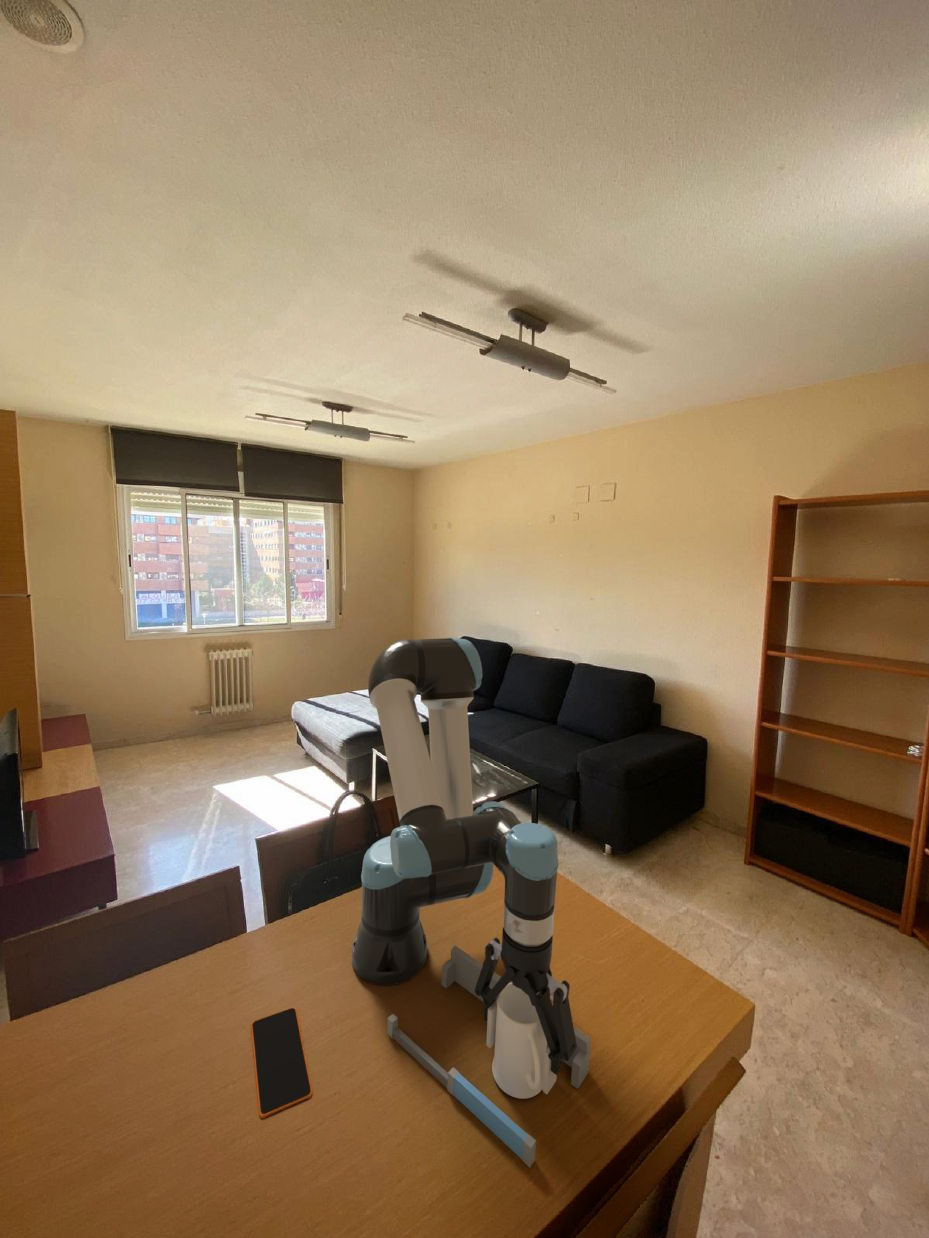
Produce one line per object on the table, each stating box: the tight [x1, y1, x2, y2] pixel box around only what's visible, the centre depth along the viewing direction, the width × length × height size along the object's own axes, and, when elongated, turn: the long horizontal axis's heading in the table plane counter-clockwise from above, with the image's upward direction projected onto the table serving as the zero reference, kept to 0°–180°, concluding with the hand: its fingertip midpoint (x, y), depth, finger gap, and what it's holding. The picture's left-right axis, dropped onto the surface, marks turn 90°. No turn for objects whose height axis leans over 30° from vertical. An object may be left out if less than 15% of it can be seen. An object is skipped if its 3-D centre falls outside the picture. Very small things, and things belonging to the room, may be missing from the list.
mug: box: [491, 981, 547, 1100], centre depth 78 cm, size 12×8×12 cm
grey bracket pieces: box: [386, 945, 592, 1168], centre depth 83 cm, size 29×17×6 cm, turn 50°
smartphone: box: [250, 1006, 313, 1119], centre depth 81 cm, size 8×17×1 cm, turn 27°
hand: (520, 1062), depth 78 cm, fingers open, 10 cm apart
